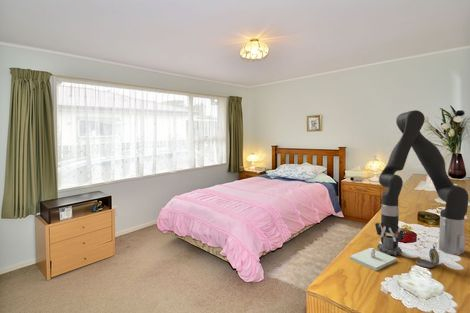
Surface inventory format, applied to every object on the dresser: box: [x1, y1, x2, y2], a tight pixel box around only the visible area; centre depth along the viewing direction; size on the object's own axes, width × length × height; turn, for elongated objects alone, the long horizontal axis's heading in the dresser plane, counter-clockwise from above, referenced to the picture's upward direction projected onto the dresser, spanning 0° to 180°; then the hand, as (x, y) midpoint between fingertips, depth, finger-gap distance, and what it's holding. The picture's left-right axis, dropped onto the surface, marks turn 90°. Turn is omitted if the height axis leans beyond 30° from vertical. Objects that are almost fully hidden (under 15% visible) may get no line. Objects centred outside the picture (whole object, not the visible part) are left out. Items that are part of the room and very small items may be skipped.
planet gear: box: [377, 234, 402, 256], centre depth 130 cm, size 10×10×7 cm
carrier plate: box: [349, 247, 397, 272], centre depth 122 cm, size 13×16×6 cm
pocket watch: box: [415, 243, 440, 269], centre depth 116 cm, size 8×8×10 cm
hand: (389, 245), depth 130 cm, fingers closed on planet gear, 5 cm apart
